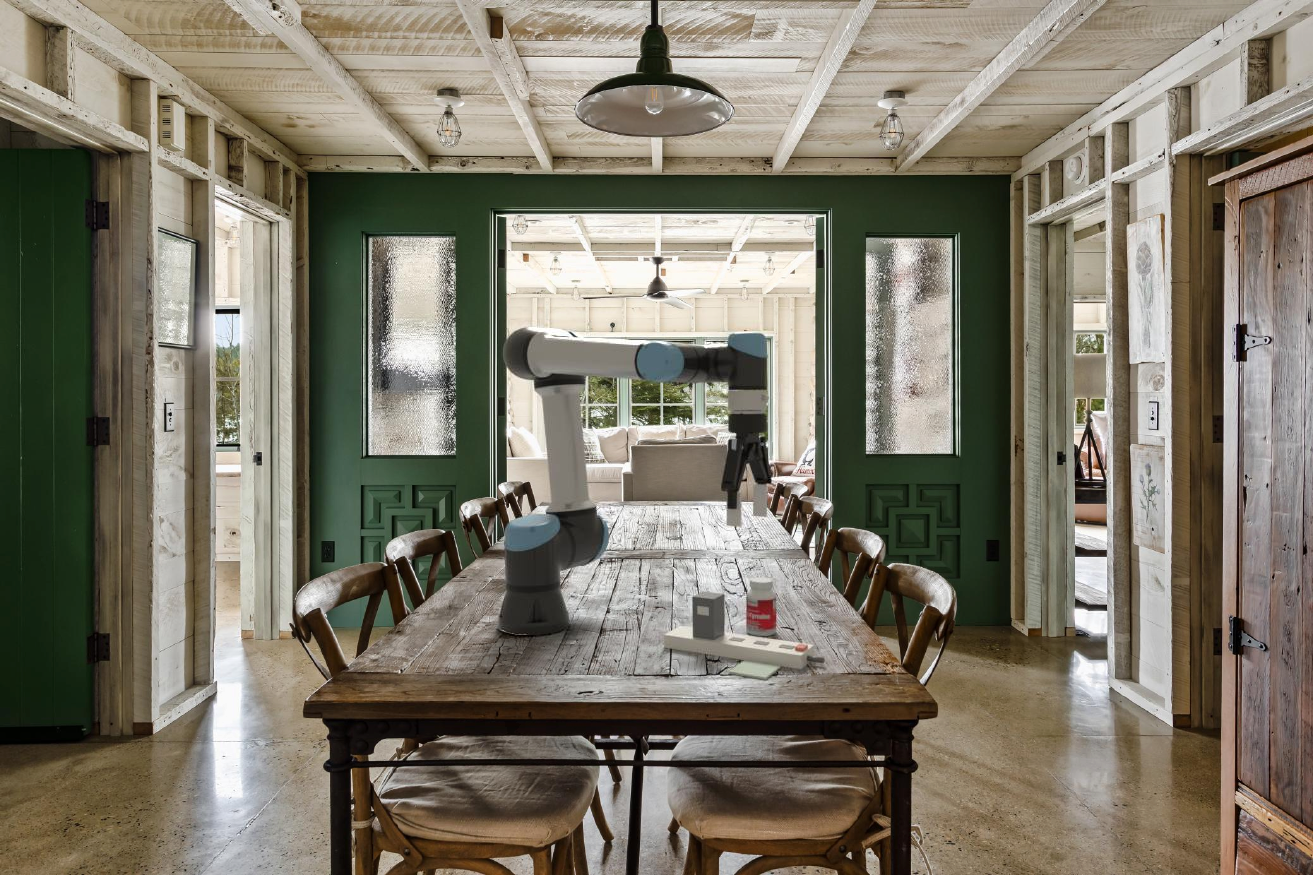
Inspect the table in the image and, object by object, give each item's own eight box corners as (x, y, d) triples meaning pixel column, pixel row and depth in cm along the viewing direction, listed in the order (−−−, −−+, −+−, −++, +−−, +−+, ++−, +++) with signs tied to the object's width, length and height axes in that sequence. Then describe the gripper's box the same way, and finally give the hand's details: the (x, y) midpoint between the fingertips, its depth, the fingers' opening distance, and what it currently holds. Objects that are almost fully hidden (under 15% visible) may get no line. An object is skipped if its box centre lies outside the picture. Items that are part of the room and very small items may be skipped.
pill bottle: (742, 635, 168) (742, 581, 167) (751, 627, 173) (751, 575, 173) (771, 638, 165) (771, 584, 164) (780, 630, 171) (779, 577, 170)
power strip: (664, 647, 160) (663, 631, 160) (680, 637, 166) (680, 622, 166) (817, 671, 144) (817, 654, 144) (829, 660, 151) (829, 643, 150)
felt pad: (728, 673, 144) (728, 671, 144) (744, 662, 150) (744, 659, 150) (765, 679, 141) (765, 677, 141) (780, 667, 147) (780, 665, 147)
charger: (692, 645, 158) (692, 596, 158) (703, 638, 162) (702, 591, 162) (714, 648, 156) (713, 599, 155) (724, 642, 160) (724, 593, 159)
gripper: (741, 414, 147) (741, 531, 148) (787, 411, 169) (786, 513, 170) (702, 414, 150) (703, 528, 151) (753, 411, 172) (753, 511, 173)
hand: (747, 521), depth 160 cm, fingers open, 13 cm apart
